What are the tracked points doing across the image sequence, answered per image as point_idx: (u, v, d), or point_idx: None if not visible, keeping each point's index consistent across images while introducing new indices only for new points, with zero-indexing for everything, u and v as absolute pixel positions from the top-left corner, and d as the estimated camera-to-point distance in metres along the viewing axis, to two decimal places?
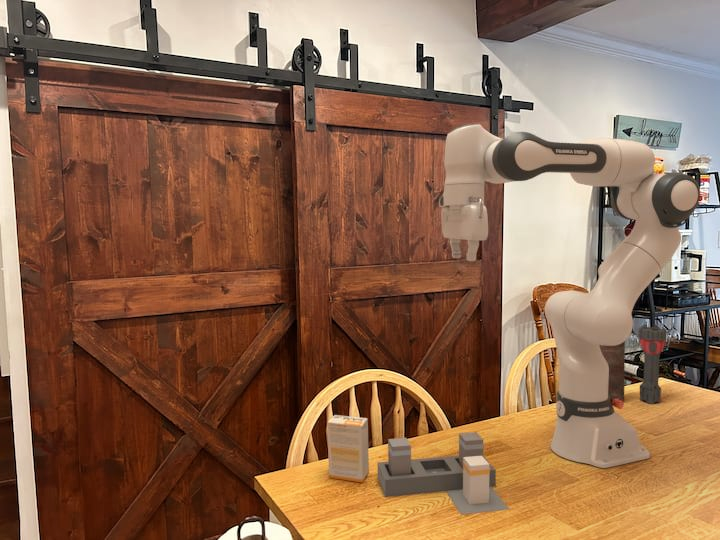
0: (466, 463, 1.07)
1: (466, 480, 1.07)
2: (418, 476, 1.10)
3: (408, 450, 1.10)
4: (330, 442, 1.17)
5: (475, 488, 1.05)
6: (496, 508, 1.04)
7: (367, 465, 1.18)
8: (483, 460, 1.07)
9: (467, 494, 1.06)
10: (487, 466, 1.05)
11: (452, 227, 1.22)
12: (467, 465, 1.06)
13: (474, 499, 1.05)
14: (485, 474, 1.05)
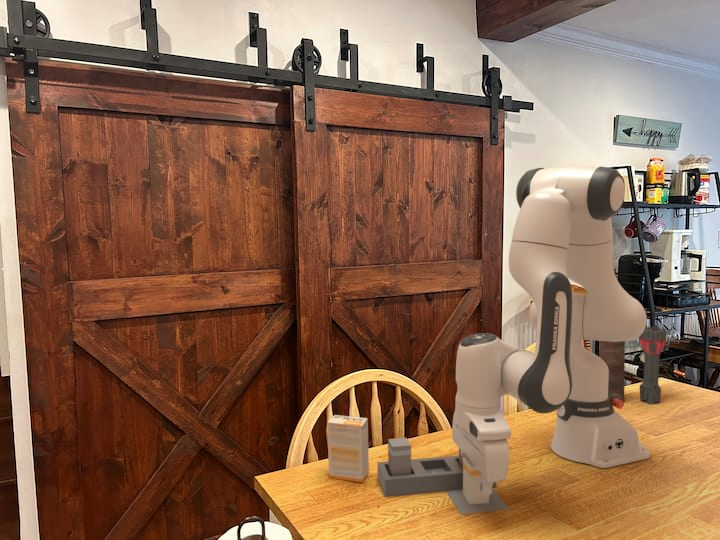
0: (466, 463, 1.07)
1: (466, 480, 1.07)
2: (418, 476, 1.10)
3: (408, 450, 1.10)
4: (330, 442, 1.17)
5: (475, 488, 1.05)
6: (496, 508, 1.04)
7: (367, 465, 1.18)
8: None
9: (467, 494, 1.06)
10: None
11: None
12: (467, 465, 1.06)
13: (474, 499, 1.05)
14: None
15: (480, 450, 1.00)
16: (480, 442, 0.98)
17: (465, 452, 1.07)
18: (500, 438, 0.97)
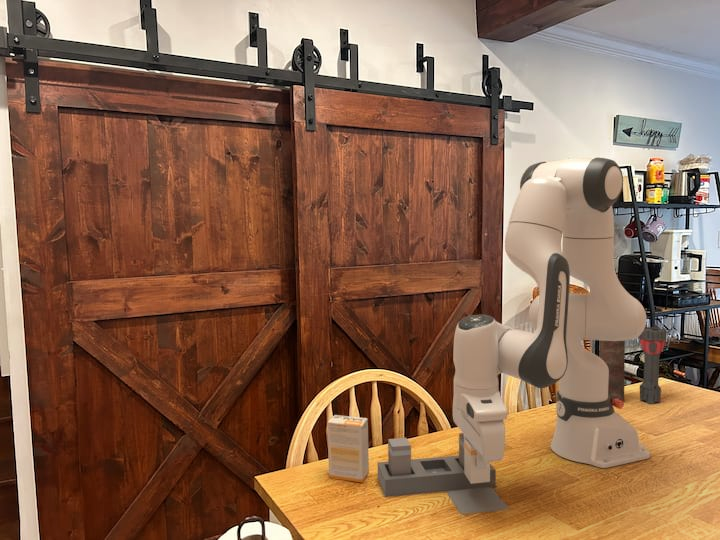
0: (467, 443, 1.07)
1: (467, 460, 1.08)
2: (418, 476, 1.10)
3: (408, 450, 1.10)
4: (330, 442, 1.17)
5: (476, 467, 1.06)
6: (496, 508, 1.04)
7: (367, 465, 1.18)
8: None
9: (468, 474, 1.07)
10: None
11: None
12: (468, 445, 1.07)
13: (475, 478, 1.06)
14: None
15: (477, 431, 1.01)
16: (476, 423, 0.99)
17: (464, 432, 1.09)
18: (496, 419, 0.98)
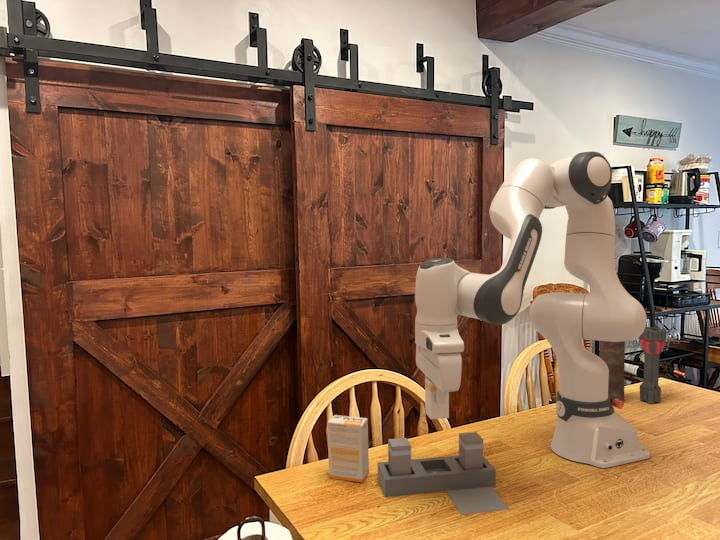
0: (427, 381, 1.12)
1: (427, 397, 1.12)
2: (418, 476, 1.10)
3: (408, 450, 1.10)
4: (330, 442, 1.17)
5: (435, 403, 1.11)
6: (496, 508, 1.04)
7: (367, 465, 1.18)
8: None
9: (428, 410, 1.12)
10: None
11: None
12: (428, 382, 1.12)
13: (434, 414, 1.11)
14: None
15: (436, 365, 1.06)
16: (435, 355, 1.04)
17: (425, 372, 1.13)
18: (453, 351, 1.03)
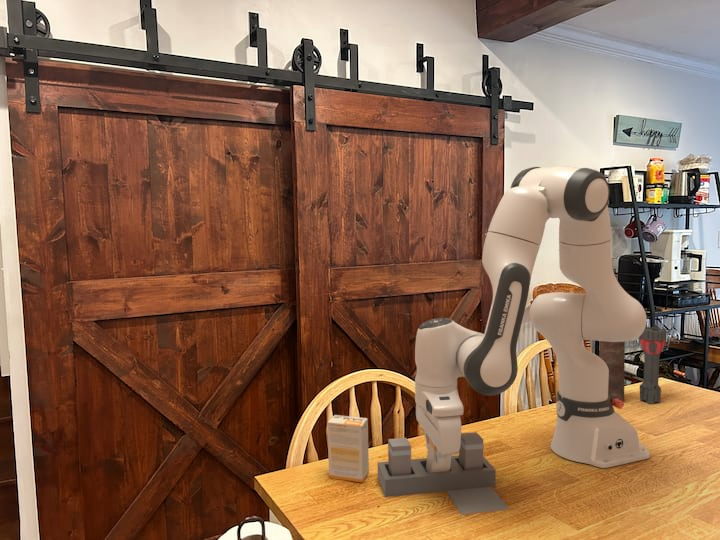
0: None
1: (430, 455, 1.14)
2: (418, 476, 1.10)
3: (408, 450, 1.10)
4: (330, 442, 1.17)
5: None
6: (496, 508, 1.04)
7: (367, 465, 1.18)
8: None
9: (429, 468, 1.13)
10: None
11: None
12: None
13: None
14: None
15: (436, 426, 1.08)
16: (434, 418, 1.05)
17: (425, 429, 1.15)
18: (453, 414, 1.04)
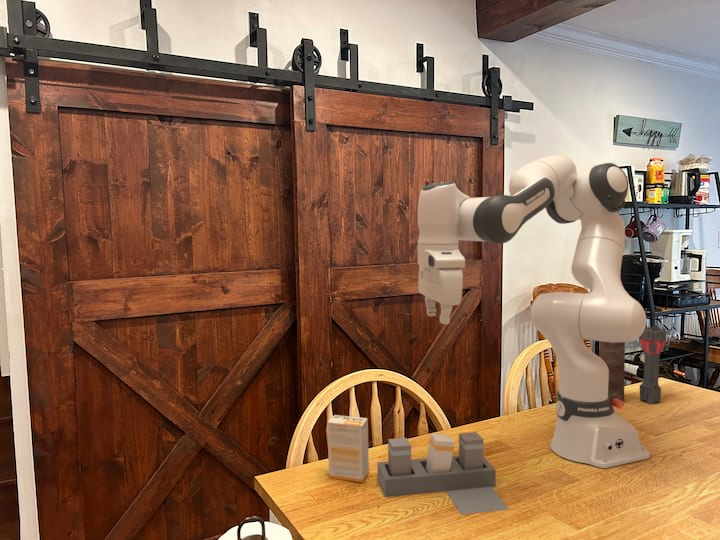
0: (433, 438, 1.13)
1: (431, 454, 1.14)
2: (418, 476, 1.10)
3: (408, 450, 1.10)
4: (330, 442, 1.17)
5: (438, 462, 1.12)
6: (496, 508, 1.04)
7: (367, 465, 1.18)
8: (449, 438, 1.14)
9: (430, 468, 1.13)
10: (452, 443, 1.12)
11: None
12: (433, 440, 1.13)
13: None
14: (450, 451, 1.12)
15: (438, 282, 1.10)
16: (437, 270, 1.07)
17: (427, 293, 1.17)
18: (455, 266, 1.07)
